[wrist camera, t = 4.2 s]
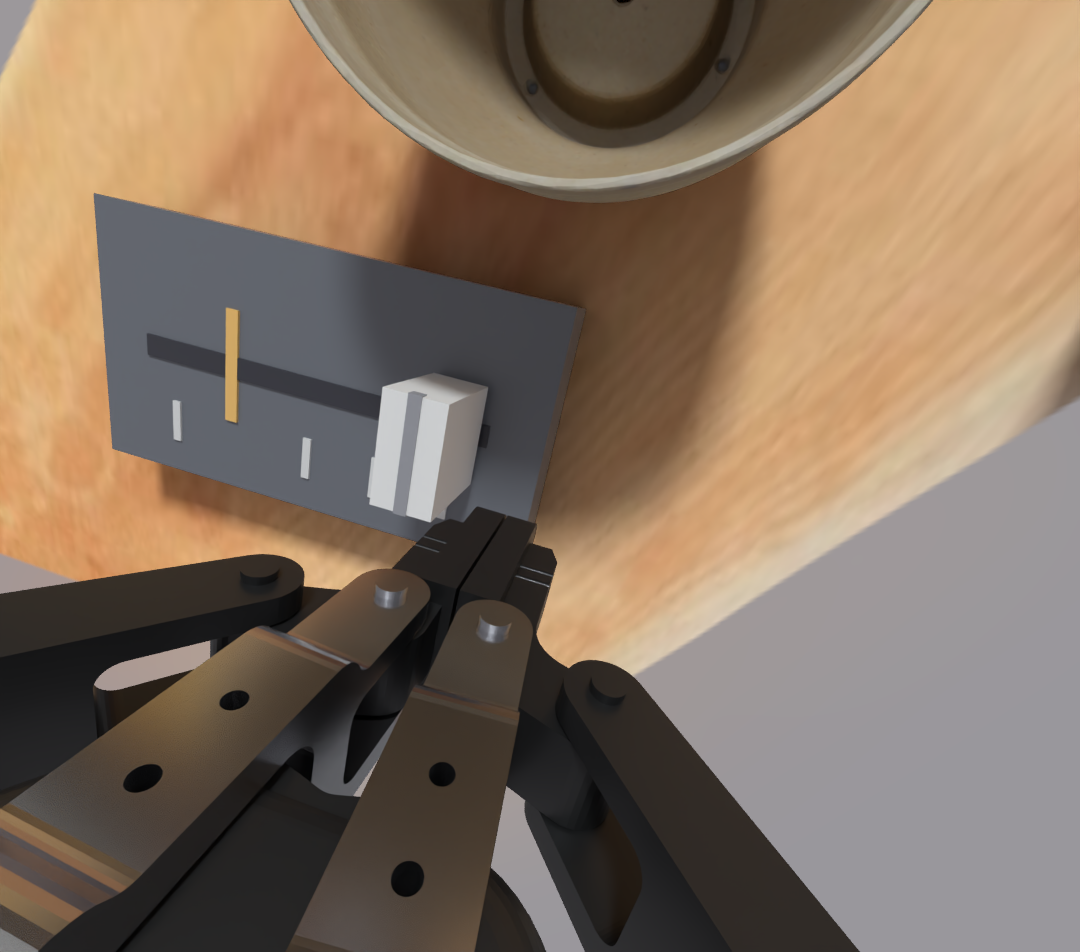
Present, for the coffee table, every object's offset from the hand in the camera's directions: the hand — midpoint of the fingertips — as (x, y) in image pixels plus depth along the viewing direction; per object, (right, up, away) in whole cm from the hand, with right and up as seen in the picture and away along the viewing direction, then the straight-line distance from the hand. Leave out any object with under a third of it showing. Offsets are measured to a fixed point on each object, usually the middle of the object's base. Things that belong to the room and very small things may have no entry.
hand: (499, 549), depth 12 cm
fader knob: (-3, +4, +10) cm, 11 cm away
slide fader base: (-9, +7, +13) cm, 17 cm away
